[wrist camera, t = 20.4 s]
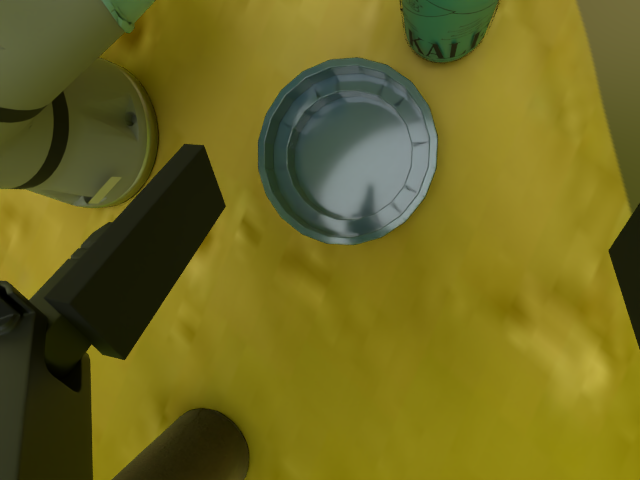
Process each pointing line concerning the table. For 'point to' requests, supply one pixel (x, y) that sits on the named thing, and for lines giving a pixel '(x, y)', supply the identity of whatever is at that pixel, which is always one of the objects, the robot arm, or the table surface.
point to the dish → (347, 151)
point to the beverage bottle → (446, 26)
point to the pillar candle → (193, 451)
